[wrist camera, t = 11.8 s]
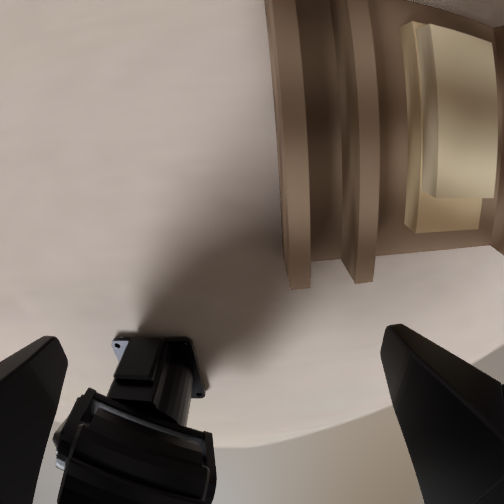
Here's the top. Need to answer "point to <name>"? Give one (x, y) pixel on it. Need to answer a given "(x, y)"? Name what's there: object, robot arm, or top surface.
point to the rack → (357, 133)
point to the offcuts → (448, 127)
